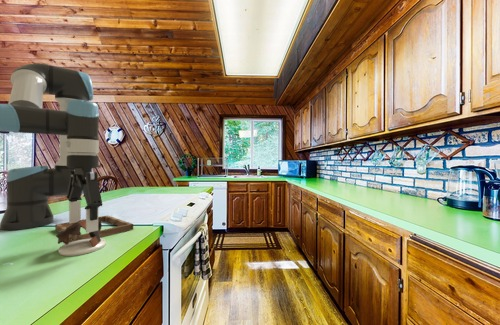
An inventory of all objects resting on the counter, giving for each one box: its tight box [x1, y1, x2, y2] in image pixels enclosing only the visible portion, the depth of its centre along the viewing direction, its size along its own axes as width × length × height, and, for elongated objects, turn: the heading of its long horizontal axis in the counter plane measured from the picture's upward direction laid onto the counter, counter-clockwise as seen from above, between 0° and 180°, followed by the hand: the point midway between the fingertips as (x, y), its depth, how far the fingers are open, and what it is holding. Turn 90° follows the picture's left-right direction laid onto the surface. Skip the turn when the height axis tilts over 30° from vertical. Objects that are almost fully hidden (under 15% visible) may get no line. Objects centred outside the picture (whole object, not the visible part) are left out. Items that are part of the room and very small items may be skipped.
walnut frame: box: [54, 215, 134, 242], centre depth 83 cm, size 22×17×2 cm
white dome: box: [58, 237, 107, 257], centre depth 66 cm, size 11×11×1 cm
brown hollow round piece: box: [55, 218, 103, 247], centre depth 67 cm, size 12×10×8 cm
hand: (83, 226), depth 66 cm, fingers open, 13 cm apart
